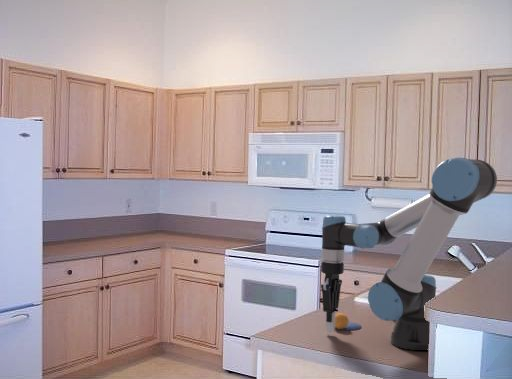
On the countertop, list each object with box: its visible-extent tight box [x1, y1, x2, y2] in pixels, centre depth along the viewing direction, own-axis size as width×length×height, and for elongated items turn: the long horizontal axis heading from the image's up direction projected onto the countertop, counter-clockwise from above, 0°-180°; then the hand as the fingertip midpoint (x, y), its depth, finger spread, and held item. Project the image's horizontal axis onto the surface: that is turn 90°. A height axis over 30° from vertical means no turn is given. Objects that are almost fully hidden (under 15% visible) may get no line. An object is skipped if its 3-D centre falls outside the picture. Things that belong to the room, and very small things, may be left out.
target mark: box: [335, 321, 362, 331], centre depth 203 cm, size 12×12×1 cm
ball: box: [335, 312, 350, 330], centre depth 199 cm, size 6×6×6 cm
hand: (330, 330), depth 191 cm, fingers closed
